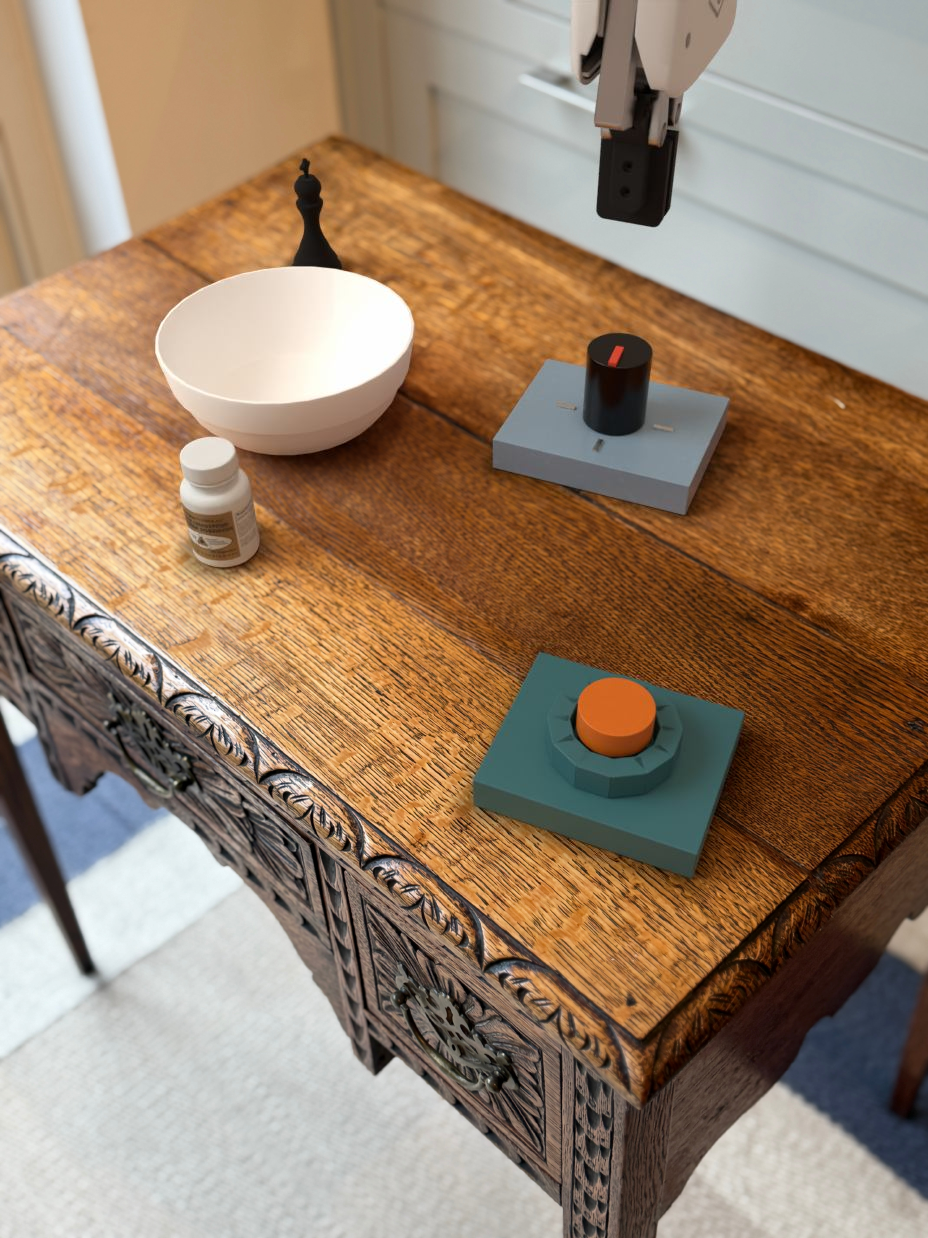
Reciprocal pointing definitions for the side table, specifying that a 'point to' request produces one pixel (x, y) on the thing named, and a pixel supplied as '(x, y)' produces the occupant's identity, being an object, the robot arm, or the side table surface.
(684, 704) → the button block
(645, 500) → the dial base
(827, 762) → the side table surface
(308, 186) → the chess piece
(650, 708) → the button
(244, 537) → the pill bottle
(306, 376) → the bowl
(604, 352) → the dial knob
